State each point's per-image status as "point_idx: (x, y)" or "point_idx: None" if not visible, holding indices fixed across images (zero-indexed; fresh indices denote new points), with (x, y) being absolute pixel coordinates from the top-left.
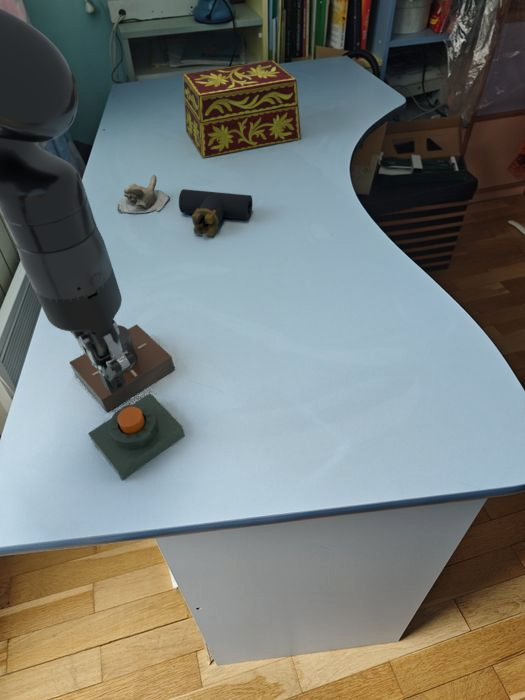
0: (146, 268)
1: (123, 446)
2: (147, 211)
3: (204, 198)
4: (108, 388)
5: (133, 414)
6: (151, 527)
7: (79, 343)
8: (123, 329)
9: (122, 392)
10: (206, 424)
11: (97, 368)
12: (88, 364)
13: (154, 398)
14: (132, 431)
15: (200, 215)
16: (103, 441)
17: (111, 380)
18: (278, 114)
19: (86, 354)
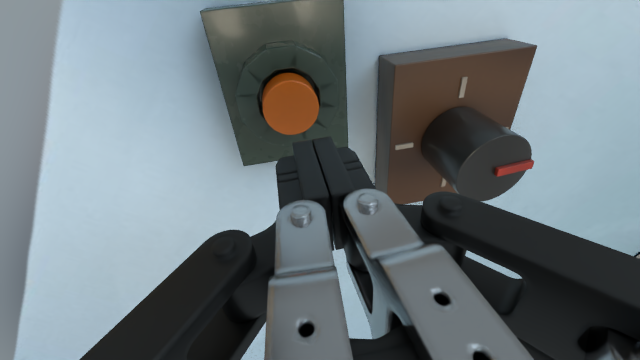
0: (565, 222)
1: (254, 54)
2: (638, 257)
3: None
4: (296, 152)
5: (290, 118)
6: (61, 11)
7: (465, 324)
8: (488, 195)
9: (387, 107)
10: (247, 186)
11: (351, 191)
12: (495, 80)
13: None
14: (263, 92)
15: None
16: (299, 18)
17: (190, 257)
18: None
19: (383, 268)
